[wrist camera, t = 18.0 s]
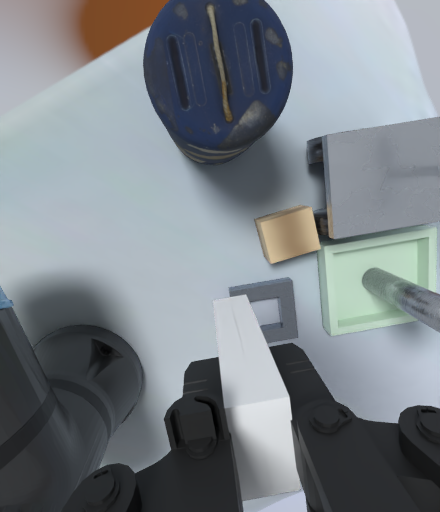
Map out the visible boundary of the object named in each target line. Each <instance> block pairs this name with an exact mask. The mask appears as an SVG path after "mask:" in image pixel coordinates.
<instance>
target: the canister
mask: <svg viewBox="0 0 440 512" xmlns="http://www.w3.org/2000/svg"><path fill="white" fill-rule="evenodd" d="M143 67H144V78H145V83H146V88H147V91H148V94H149V97H150V99H151V102H152V104H153V107H154V109H155V111H156V113H157V114H158V116H159V118H160V119H161V121H162V122H163V124H164V126H165V127H166V129H167V131H168V133H169V134H170V136H171V138H172V139H173V141H174V142H175V144H176V145H177V147H178V148H179V149H180V150H181V151H182V152H183V153H184V154H185V155H186V156H187V157H189V158H191V159H192V160H194V161H197V162H199V163H203V164H210V165H216V164H222V163H225V162H227V161H230V160H232V159H233V158H235V157H236V156H238V155H240V154H241V153H243V152H244V151H245V150H246V149H248V148H249V147H250V146H251V145H252V144H253V143H254V142H255V141H256V140H258V139H259V138H261V137H262V136H263V135H264V134H265V133H266V132H267V131H268V130H269V129H270V128H271V127H272V126H273V125H274V123H275V122H276V121H277V119H278V118H279V116H280V114H281V113H282V111H283V109H284V107H285V104H286V102H287V99H288V96H289V93H290V89H291V83H292V76H293V61H292V52H291V46H290V43H289V39H288V36H287V33H286V31H285V29H284V27H283V25H282V23H281V21H280V19H279V17H278V16H277V14H276V13H275V12H274V10H273V9H272V8H271V7H270V6H269V5H268V3H266V2H265V1H264V0H170V1H169V2H168V3H167V4H166V5H165V6H164V7H163V8H162V10H161V11H160V12H159V14H158V16H157V17H156V19H155V20H154V22H153V24H152V26H151V28H150V31H149V33H148V36H147V40H146V44H145V50H144V59H143Z"/></svg>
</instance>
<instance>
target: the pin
mask: <svg viewBox="0 0 440 512" xmlns="http://www.w3.org/2000/svg"><path fill="white" fill-rule="evenodd" d="M362 284H363V286H364V288H366V289H367V290H369V291H370V292H372V293H374V294H376V295H377V296H379V297H381V298H382V299H384V300H386V301H387V302H389V303H391V304H392V305H394V306H396V307H397V308H399V309H401V310H403V311H404V312H406V313H408V314H409V315H411V316H413V317H414V318H416V319H418V320H419V321H421V322H423V323H424V324H426V325H428V326H430V327H431V328H433V329H435V330H436V331H438V332H440V294H437V293H435V292H433V291H430V290H428V289H426V288H424V287H421V286H419V285H417V284H414V283H412V282H410V281H408V280H405V279H403V278H401V277H398V276H396V275H394V274H392V273H389V272H387V271H385V270H382V269H380V268H377V267H373V268H370V269H368V270H367V271H366V272H365V273H364V275H363V277H362Z"/></svg>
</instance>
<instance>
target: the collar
mask: <svg viewBox="0 0 440 512" xmlns="http://www.w3.org/2000/svg"><path fill="white" fill-rule="evenodd" d="M229 293H230V297H234V296H240V295H247V298H248V300H249V302H251V301H256V300H262V299H268V298H274V297H277V298H278V307H279V315H280V323H275V324H269V325H263V326H260V328H261V331H262V333H263V336H264V338H265V340H266V343H270V342H275V341H281V340H287V339H292V338H298V331H297V322H296V312H295V303H294V294H293V284H292V280H291V279H290V278H289V277H287V278H282V279H276V280H270V281H264V282H258V283H253V284H247V285H241V286H235V287H229Z"/></svg>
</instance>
